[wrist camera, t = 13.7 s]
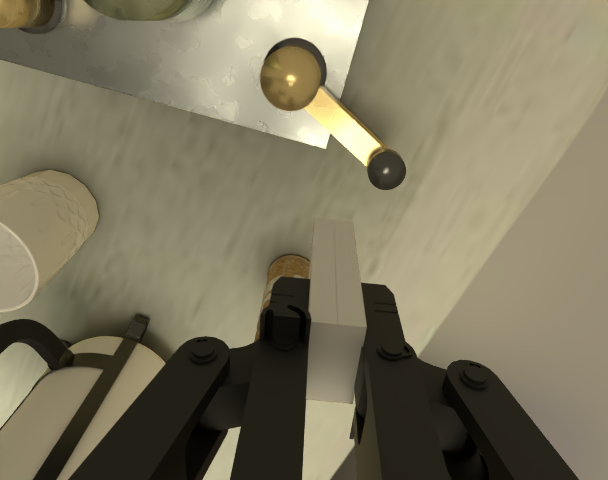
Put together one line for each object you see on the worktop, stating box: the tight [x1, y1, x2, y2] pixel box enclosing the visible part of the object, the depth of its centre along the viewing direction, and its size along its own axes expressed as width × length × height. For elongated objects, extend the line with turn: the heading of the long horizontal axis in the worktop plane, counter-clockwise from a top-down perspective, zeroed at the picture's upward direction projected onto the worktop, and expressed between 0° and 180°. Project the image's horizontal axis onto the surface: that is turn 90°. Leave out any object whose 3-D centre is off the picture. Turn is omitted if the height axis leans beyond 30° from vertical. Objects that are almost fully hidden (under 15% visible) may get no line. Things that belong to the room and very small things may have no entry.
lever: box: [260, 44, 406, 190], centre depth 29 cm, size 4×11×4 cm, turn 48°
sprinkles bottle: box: [254, 255, 310, 342], centre depth 33 cm, size 5×5×13 cm
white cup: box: [0, 170, 99, 313], centre depth 33 cm, size 8×8×10 cm
